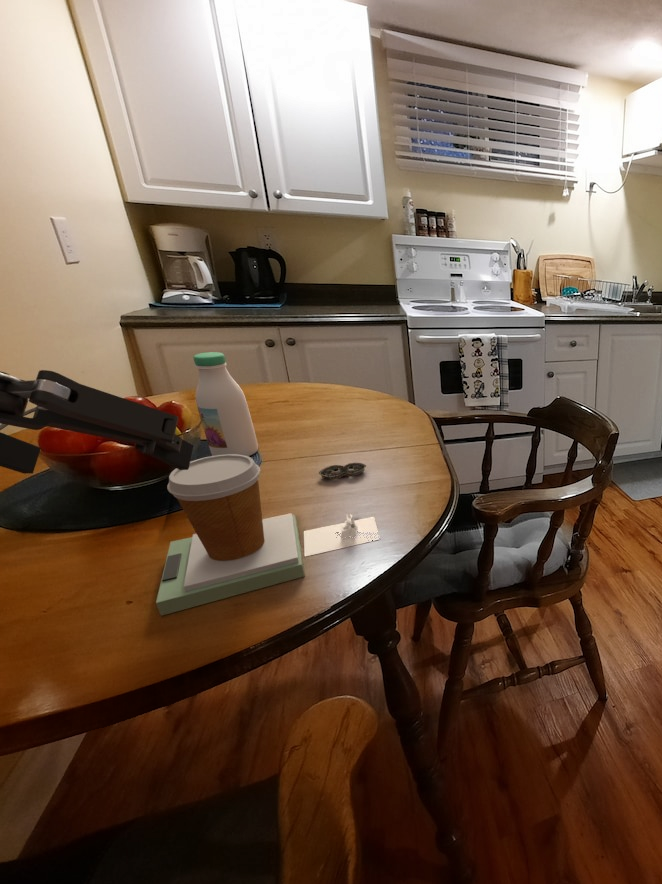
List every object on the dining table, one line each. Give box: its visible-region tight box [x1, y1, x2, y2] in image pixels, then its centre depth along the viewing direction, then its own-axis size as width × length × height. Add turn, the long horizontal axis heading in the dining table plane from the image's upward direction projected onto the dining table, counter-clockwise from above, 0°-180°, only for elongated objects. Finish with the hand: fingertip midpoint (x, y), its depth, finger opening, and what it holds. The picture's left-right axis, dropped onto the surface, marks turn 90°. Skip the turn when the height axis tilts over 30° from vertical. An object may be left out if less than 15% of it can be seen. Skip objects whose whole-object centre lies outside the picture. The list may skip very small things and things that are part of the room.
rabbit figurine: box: [340, 513, 359, 540], centre depth 75 cm, size 3×3×3 cm
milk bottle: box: [192, 351, 259, 457], centre depth 94 cm, size 8×8×20 cm
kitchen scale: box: [155, 512, 306, 617], centre depth 67 cm, size 14×15×3 cm
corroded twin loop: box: [318, 462, 367, 481], centre depth 92 cm, size 5×8×1 cm, turn 116°
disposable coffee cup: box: [166, 454, 265, 561], centre depth 64 cm, size 10×10×12 cm
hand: (112, 459), depth 50 cm, fingers open, 13 cm apart
